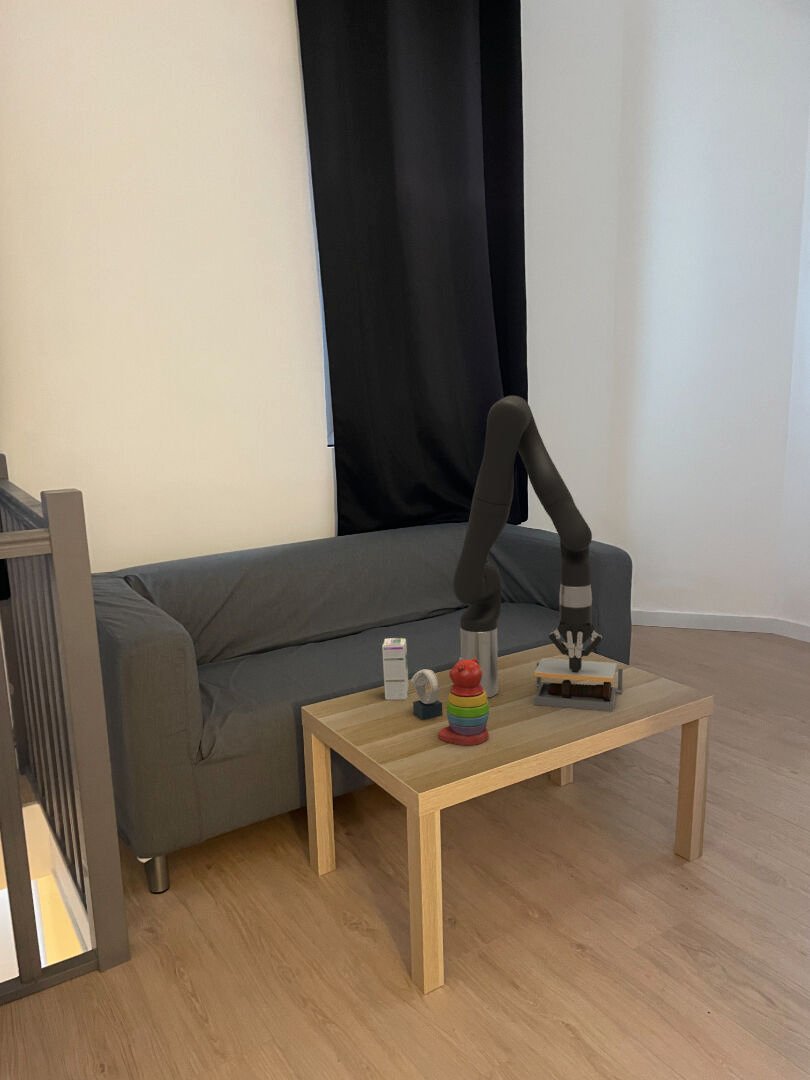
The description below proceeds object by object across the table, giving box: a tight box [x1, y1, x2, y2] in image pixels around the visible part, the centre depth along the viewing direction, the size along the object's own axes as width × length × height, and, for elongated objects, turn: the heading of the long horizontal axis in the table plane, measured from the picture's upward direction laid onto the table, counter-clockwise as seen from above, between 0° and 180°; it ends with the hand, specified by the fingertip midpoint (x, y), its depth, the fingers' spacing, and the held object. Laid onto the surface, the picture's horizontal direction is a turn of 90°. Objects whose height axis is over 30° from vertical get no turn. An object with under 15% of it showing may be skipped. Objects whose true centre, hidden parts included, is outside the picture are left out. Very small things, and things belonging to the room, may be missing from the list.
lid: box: [533, 657, 618, 683], centre depth 204 cm, size 19×14×1 cm
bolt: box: [547, 679, 612, 702], centre depth 202 cm, size 6×5×15 cm
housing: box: [533, 661, 623, 712], centre depth 205 cm, size 21×15×6 cm
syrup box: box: [381, 637, 410, 701], centre depth 209 cm, size 6×6×14 cm
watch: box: [410, 668, 443, 721], centre depth 197 cm, size 6×8×11 cm
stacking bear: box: [437, 658, 490, 746], centre depth 183 cm, size 11×10×18 cm
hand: (575, 671), depth 201 cm, fingers closed
